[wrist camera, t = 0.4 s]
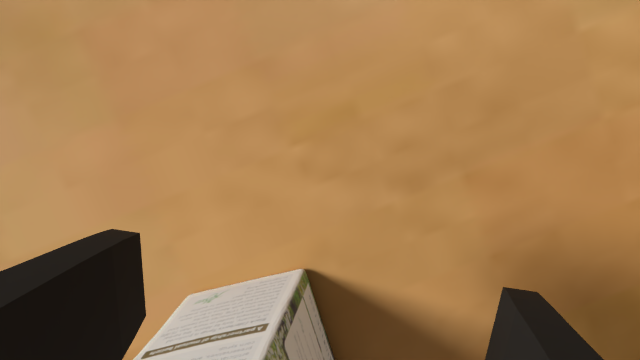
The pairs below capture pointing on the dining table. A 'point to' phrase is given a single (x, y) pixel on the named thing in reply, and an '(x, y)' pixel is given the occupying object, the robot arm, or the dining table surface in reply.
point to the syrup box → (245, 323)
